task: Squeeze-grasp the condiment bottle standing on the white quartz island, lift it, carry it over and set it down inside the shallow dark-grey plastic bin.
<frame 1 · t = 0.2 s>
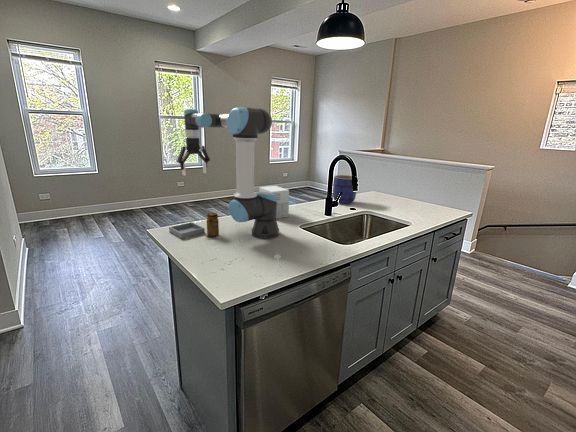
hand: (194, 174, 178), 28 cm above the worktop, fingers open, 13 cm apart
bin: (187, 232, 161), on the worktop
supplement box: (273, 215, 199), on the worktop
condiment: (213, 236, 159), on the worktop
planter: (343, 203, 236), on the worktop
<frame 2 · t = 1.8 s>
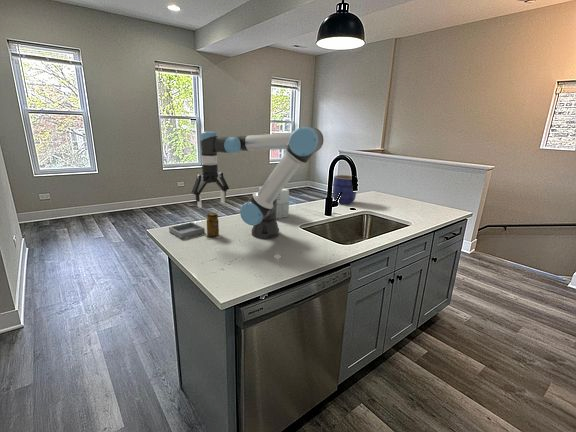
hand: (211, 205, 154), 17 cm above the worktop, fingers open, 13 cm apart
nothing on the worktop moved.
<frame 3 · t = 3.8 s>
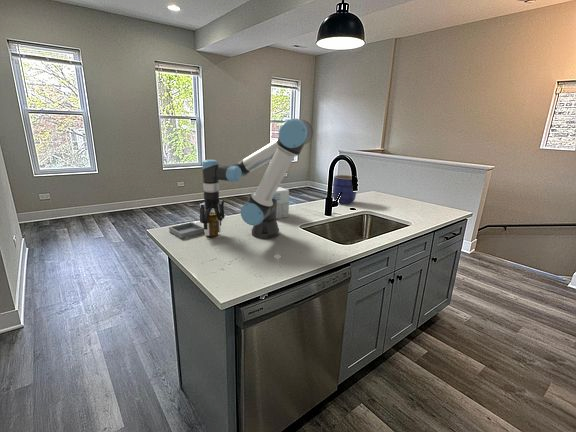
hand: (213, 233, 158), 1 cm above the worktop, fingers closed on condiment, 6 cm apart
condiment: (212, 236, 158), on the worktop, touching gripper
everything else where it was.
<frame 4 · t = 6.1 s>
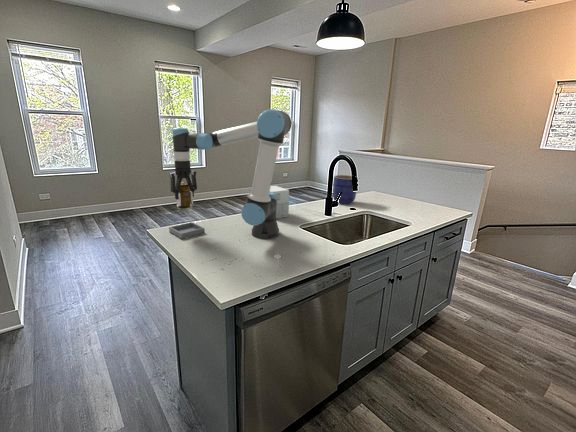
hand: (185, 204, 157), 16 cm above the worktop, fingers closed on condiment, 6 cm apart
condiment: (184, 207, 157), point 14 cm above the worktop, touching gripper
everything else where it was.
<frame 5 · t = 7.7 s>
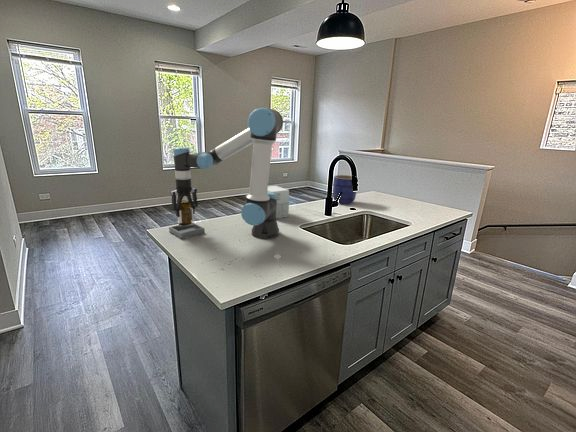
hand: (186, 221, 159), 7 cm above the worktop, fingers closed on condiment, 6 cm apart
condiment: (185, 224, 160), point 5 cm above the worktop, touching gripper
everything else where it was.
when the fingers open (4 cm above the worktop, at t = 8.5 s): condiment drops 2 cm, resting on bin.
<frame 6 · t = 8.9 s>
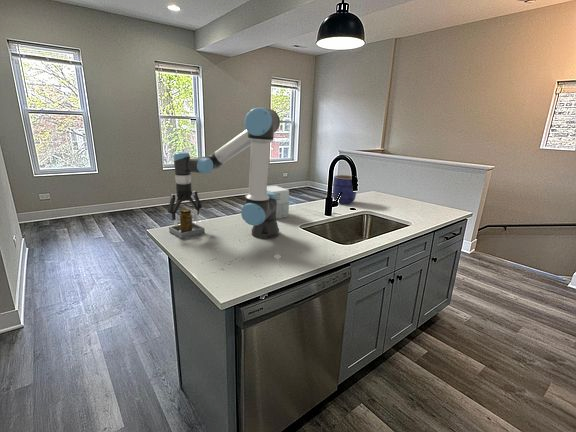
hand: (186, 223, 160), 5 cm above the worktop, fingers open, 11 cm apart
condiment: (186, 232, 161), resting on bin
everything else where it was.
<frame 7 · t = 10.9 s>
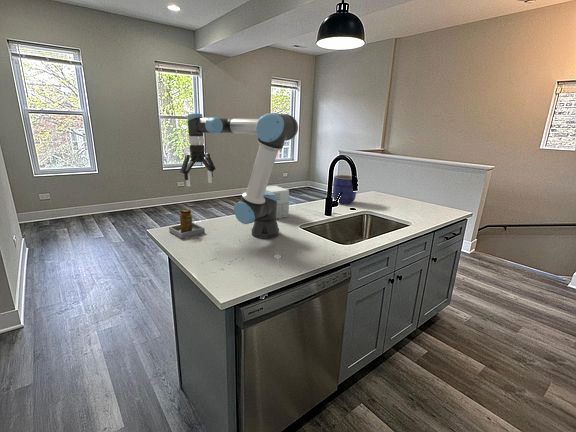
hand: (199, 184, 162), 25 cm above the worktop, fingers open, 13 cm apart
nothing on the worktop moved.
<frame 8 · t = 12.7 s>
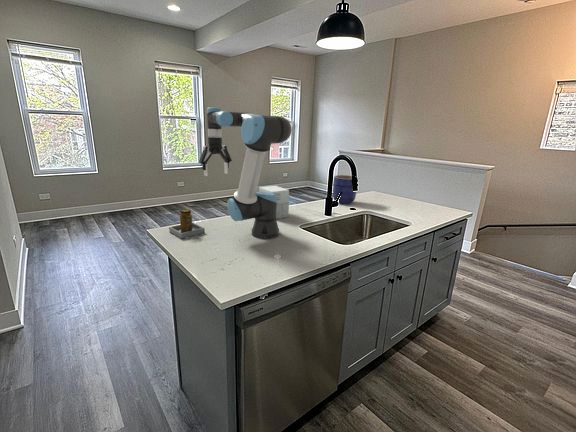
hand: (216, 174, 172), 29 cm above the worktop, fingers open, 13 cm apart
nothing on the worktop moved.
at the end: condiment inside the target area on the bin (0.3 cm from its centre), point 0.4 cm above the bin's base; the gripper is holding nothing; condiment tilted 0° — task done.
